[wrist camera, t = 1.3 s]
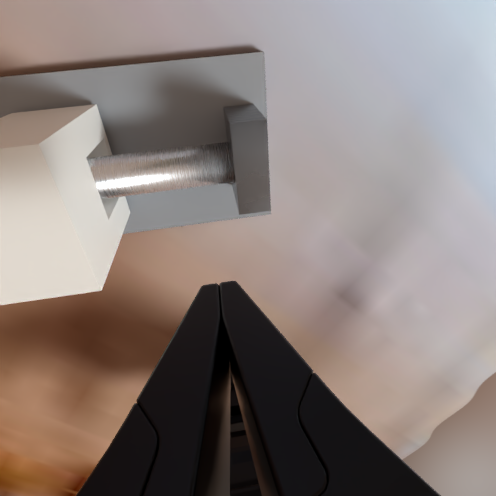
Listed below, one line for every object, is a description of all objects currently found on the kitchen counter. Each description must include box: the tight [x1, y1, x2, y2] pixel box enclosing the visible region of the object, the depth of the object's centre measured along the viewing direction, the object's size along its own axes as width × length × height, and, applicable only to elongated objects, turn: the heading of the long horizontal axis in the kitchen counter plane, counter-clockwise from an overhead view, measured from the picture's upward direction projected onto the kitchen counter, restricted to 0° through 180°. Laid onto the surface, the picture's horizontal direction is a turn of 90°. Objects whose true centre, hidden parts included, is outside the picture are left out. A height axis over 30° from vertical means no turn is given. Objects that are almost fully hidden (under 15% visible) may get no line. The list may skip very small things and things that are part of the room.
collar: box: [0, 104, 130, 305], centre depth 15 cm, size 4×6×7 cm, turn 5°
